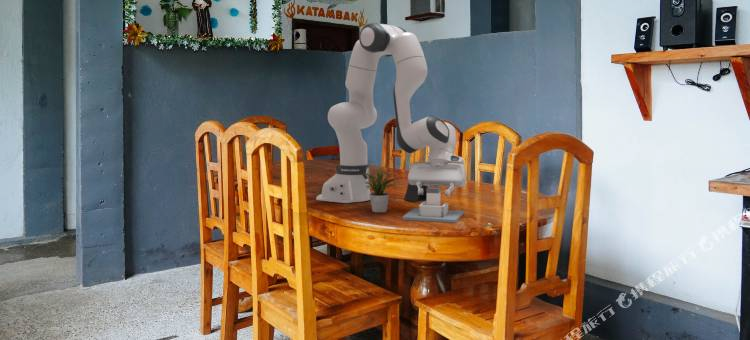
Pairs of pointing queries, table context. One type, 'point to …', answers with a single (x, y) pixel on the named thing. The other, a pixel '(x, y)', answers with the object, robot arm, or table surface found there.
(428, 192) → the cable plug
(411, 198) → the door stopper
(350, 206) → the table surface
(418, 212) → the dock board
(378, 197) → the house plant
